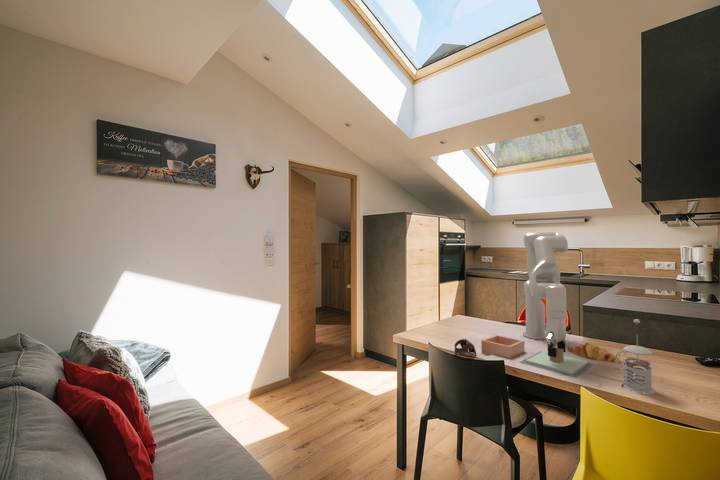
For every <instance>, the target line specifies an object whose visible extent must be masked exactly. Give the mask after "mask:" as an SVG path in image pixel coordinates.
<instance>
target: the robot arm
mask: <svg viewBox="0 0 720 480" xmlns="http://www.w3.org/2000/svg"><path fill="white" fill-rule="evenodd" d="M568 244H569V243H568V241H567V238H566V237H565V236H564V235H563V234H562V233H560V232H559V231H538V232H537V231H534V232H526V233H525V234H524V236H523V245H524V247H525V250H526V253H527V256H526V260H527V262H526V264H527V265H526V273H527V276H528V278H529V279H528V280H526V281H525V282H524V283H523V291H524V299H525V331H523V333H522V336H523V337H525V338H528V339H531V340H532V339H533V340H545V341H546V344H547V346H546V347H547V352H548V356H550V357H555V358H556V357H557V353H556V348H560V349H564V354H565V353H566V349H567V345H566V338H567V326H566V320H567V316H568V315H567V289H566V287H565V286H564V284H563V283H561V268H560V267H561V266H560V264H559V262H558V261H557V257H556V254H564V253H566V252H567V251H568V249H569V245H568ZM542 300H545V302H546V303H544V302H543V301H542ZM545 305H546V306H545Z"/></svg>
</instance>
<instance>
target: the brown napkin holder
mask: <svg viewBox="0 0 720 480" xmlns="http://www.w3.org/2000/svg"><path fill="white" fill-rule="evenodd" d="M459 345H460V347H457V346H459ZM466 353H467V354H469V353H472V354H474V355H475V357H477V351H476V348H475V346H474V344H473V343H472V342H470V341H469V340H468V339H465V338H462V339H459V340H457V341H456V342H455V343H454V355H457V354H459V355H462V354H463V355H464V354H466Z"/></svg>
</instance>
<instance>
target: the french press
mask: <svg viewBox="0 0 720 480" xmlns="http://www.w3.org/2000/svg"><path fill="white" fill-rule="evenodd" d="M633 323H635V324H640V323H641V321H640V319H637V318H636V319H633ZM638 343H639V341H638V335H636V345H633V344H632V345H626V346H625V347H623V348H622V349H623V350H621V351H618V352H617V353H616V355H615V356H616V362H615V363H616V365H617V367H618V368H619V369H620V370H621V371H623V383H622V384H621V385H620V387H621V386H622V387H621V388H623V389H624V388H625V389H624V390H626V389H628V390H627V391H629V390H630V391H629V392H632V391H634V392H633V393H635V392H638V393H637V394H640V393H645V394H644V395H653V394H652V393H654V392H656V390H655V389H654V388H653V387H652V383H653V382H652V381H653V380H652V367H651V366H650V365H651V363H650V362H649V361H648V360H644V359H640V358H639V356H650V355H652V354H653V352H652V351H651V350H649V349H648V348H646V347H645V346H640V345H639V344H638ZM622 353H623V355H624V356H626V355H628V353H630V354H634V355H636V358H633V357H628V358H624V361H625V362H624V363H623V365H622V364H621V363H620V360H621V359H620V360H619V364H618V363H617V357H620V356H621V354H622ZM619 365H620V366H619ZM654 390H655V391H654ZM654 394H655V393H654Z"/></svg>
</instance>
